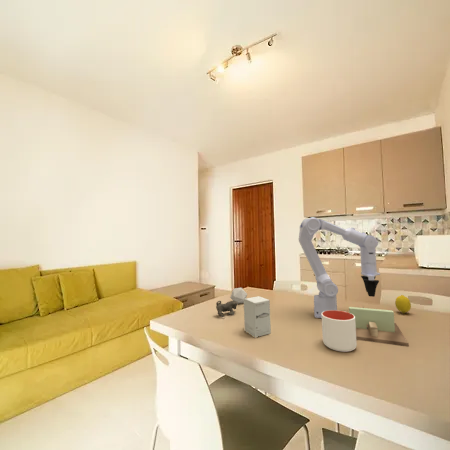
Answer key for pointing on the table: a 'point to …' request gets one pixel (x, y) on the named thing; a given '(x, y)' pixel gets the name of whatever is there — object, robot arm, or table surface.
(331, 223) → the robot arm
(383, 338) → the base
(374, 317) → the slotted plate
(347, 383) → the table surface
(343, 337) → the cup
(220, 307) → the dog figurine
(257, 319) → the supplement box
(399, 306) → the lemon
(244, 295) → the die
